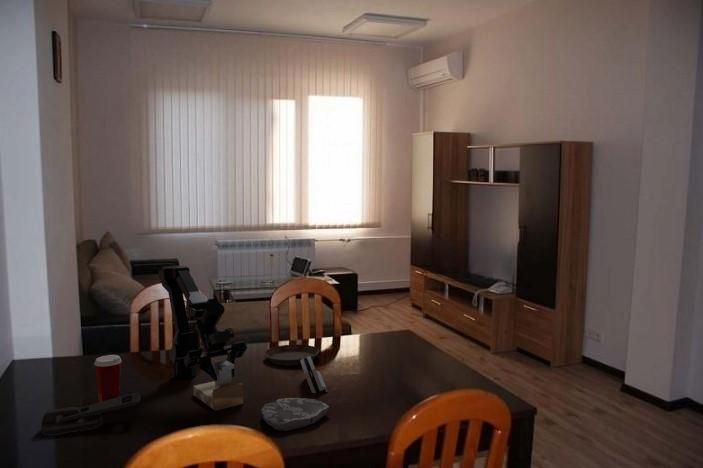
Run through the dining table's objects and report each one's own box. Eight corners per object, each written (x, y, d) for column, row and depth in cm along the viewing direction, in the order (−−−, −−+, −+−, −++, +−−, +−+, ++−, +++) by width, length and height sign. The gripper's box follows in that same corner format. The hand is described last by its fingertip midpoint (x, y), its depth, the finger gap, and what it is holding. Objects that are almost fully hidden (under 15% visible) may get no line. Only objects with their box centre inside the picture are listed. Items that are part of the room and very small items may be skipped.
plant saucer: (253, 360, 218) (253, 352, 217) (292, 348, 233) (292, 340, 233) (291, 372, 204) (291, 363, 204) (330, 358, 220) (330, 350, 220)
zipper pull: (140, 401, 159) (38, 413, 150) (141, 424, 159) (39, 438, 151) (140, 390, 167) (43, 401, 158) (141, 412, 168) (44, 425, 159)
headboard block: (193, 395, 181) (193, 376, 181) (220, 388, 187) (220, 370, 186) (215, 410, 169) (214, 390, 168) (243, 403, 174) (242, 384, 174)
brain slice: (297, 402, 176) (297, 392, 176) (337, 417, 164) (337, 407, 164) (244, 420, 162) (244, 410, 162) (283, 439, 150) (283, 428, 150)
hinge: (328, 392, 183) (317, 364, 182) (314, 398, 182) (303, 370, 181) (321, 375, 200) (311, 349, 198) (308, 381, 199) (298, 355, 197)
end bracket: (215, 403, 174) (214, 363, 173) (227, 400, 177) (226, 360, 176) (222, 408, 171) (221, 367, 169) (235, 405, 173) (234, 364, 172)
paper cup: (128, 400, 177) (127, 355, 176) (110, 409, 170) (109, 363, 168) (108, 397, 179) (106, 353, 178) (89, 406, 172) (87, 360, 171)
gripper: (186, 324, 170) (202, 370, 162) (244, 315, 181) (261, 358, 173) (177, 345, 177) (192, 390, 169) (233, 335, 188) (249, 377, 180)
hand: (225, 378), depth 173 cm, fingers open, 5 cm apart
